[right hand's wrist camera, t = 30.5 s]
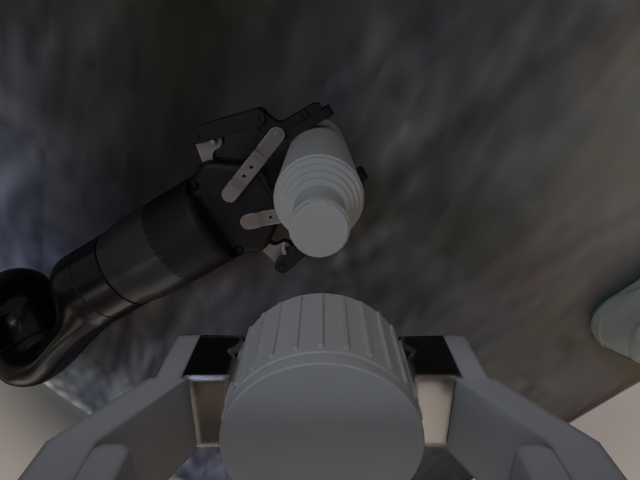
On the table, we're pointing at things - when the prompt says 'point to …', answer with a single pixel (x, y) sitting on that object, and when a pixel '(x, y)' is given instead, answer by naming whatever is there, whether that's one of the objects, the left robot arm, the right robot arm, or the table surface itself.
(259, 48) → the table surface
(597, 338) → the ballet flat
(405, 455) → the cap
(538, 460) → the right robot arm
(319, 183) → the bottle
